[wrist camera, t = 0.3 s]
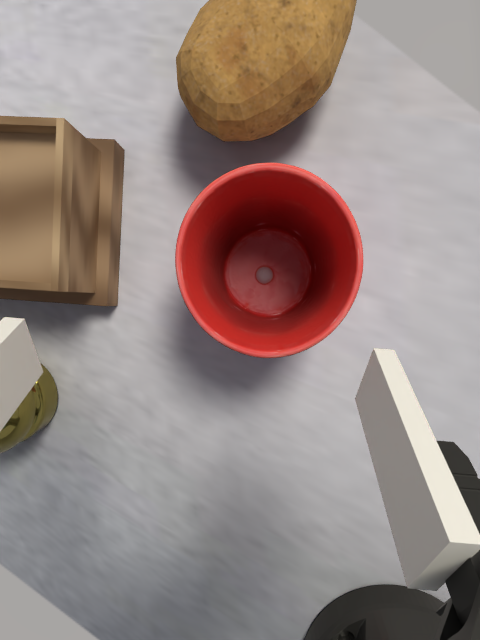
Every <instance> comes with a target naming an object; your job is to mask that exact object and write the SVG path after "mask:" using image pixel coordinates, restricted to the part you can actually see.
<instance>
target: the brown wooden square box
mask: <svg viewBox="0 0 480 640" xmlns="http://www.w3.org/2000/svg"><path fill="white" fill-rule="evenodd" d="M123 172H124V149H123V148H122V147H121V146H120V145H119V144H118V143H117V142H116V141H115V140H114V139H89V138H85V137H84V136H83V135H82V134H81V133H80V132H79V131H78V130H76V129H75V128H74V127H73V126H72V125H71V124H70V123H69V122H68V121H66V120H65V119H64V118H41V117H14V116H0V299H12V300H26V301H41V302H55V303H69V304H83V305H97V306H117V304H118V282H119V260H120V238H121V216H122V194H123Z"/></svg>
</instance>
